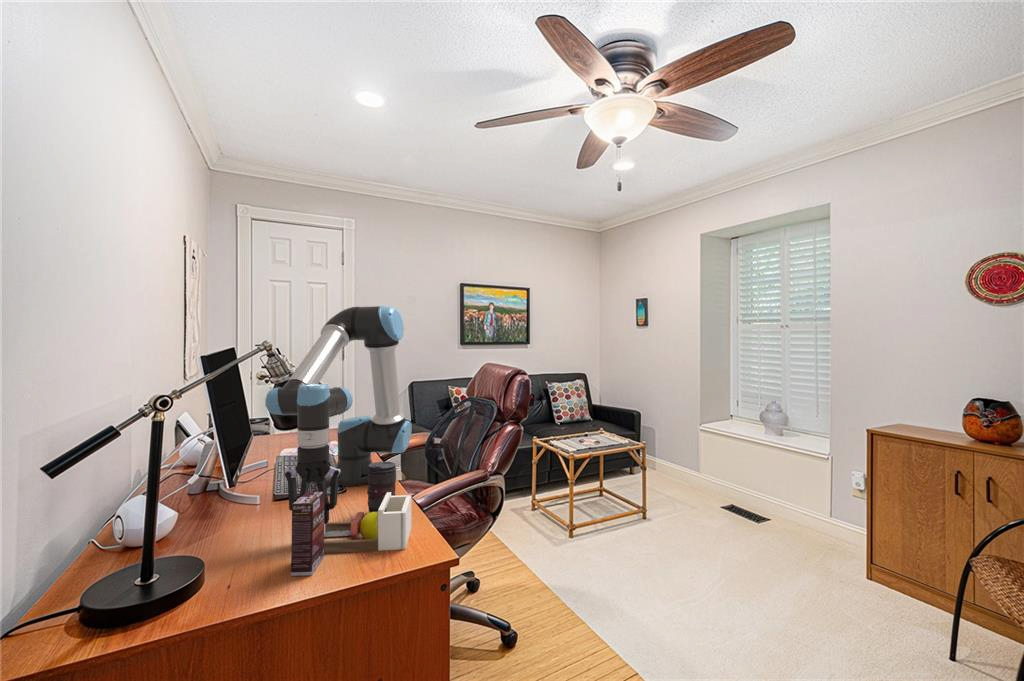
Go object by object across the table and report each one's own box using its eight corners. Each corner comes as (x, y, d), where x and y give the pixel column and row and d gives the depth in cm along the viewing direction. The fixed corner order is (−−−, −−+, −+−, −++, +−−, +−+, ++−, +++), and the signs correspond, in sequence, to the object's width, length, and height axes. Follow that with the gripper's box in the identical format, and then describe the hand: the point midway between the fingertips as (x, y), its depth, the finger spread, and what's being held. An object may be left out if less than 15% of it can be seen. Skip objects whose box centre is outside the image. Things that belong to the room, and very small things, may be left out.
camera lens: (388, 521, 130) (388, 468, 130) (362, 519, 132) (362, 467, 132) (400, 510, 138) (400, 461, 138) (376, 508, 140) (376, 460, 140)
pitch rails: (322, 531, 123) (322, 522, 123) (386, 528, 125) (386, 519, 125) (306, 554, 110) (306, 544, 110) (378, 550, 112) (378, 540, 112)
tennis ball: (354, 543, 116) (354, 515, 116) (371, 532, 122) (371, 506, 122) (377, 547, 114) (377, 519, 114) (393, 536, 120) (393, 509, 120)
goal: (386, 528, 125) (386, 492, 125) (411, 527, 126) (411, 491, 126) (378, 550, 112) (378, 509, 112) (405, 549, 113) (405, 508, 113)
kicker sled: (311, 534, 120) (311, 493, 120) (363, 532, 122) (363, 491, 122) (300, 548, 112) (300, 504, 112) (357, 545, 114) (357, 501, 114)
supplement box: (312, 576, 100) (312, 503, 100) (290, 577, 99) (290, 504, 99) (325, 557, 108) (325, 490, 108) (304, 558, 108) (304, 491, 108)
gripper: (273, 449, 112) (273, 544, 112) (343, 447, 114) (342, 541, 114) (285, 442, 119) (285, 531, 119) (350, 441, 121) (350, 529, 121)
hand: (313, 536), depth 116 cm, fingers closed on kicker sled, 4 cm apart
